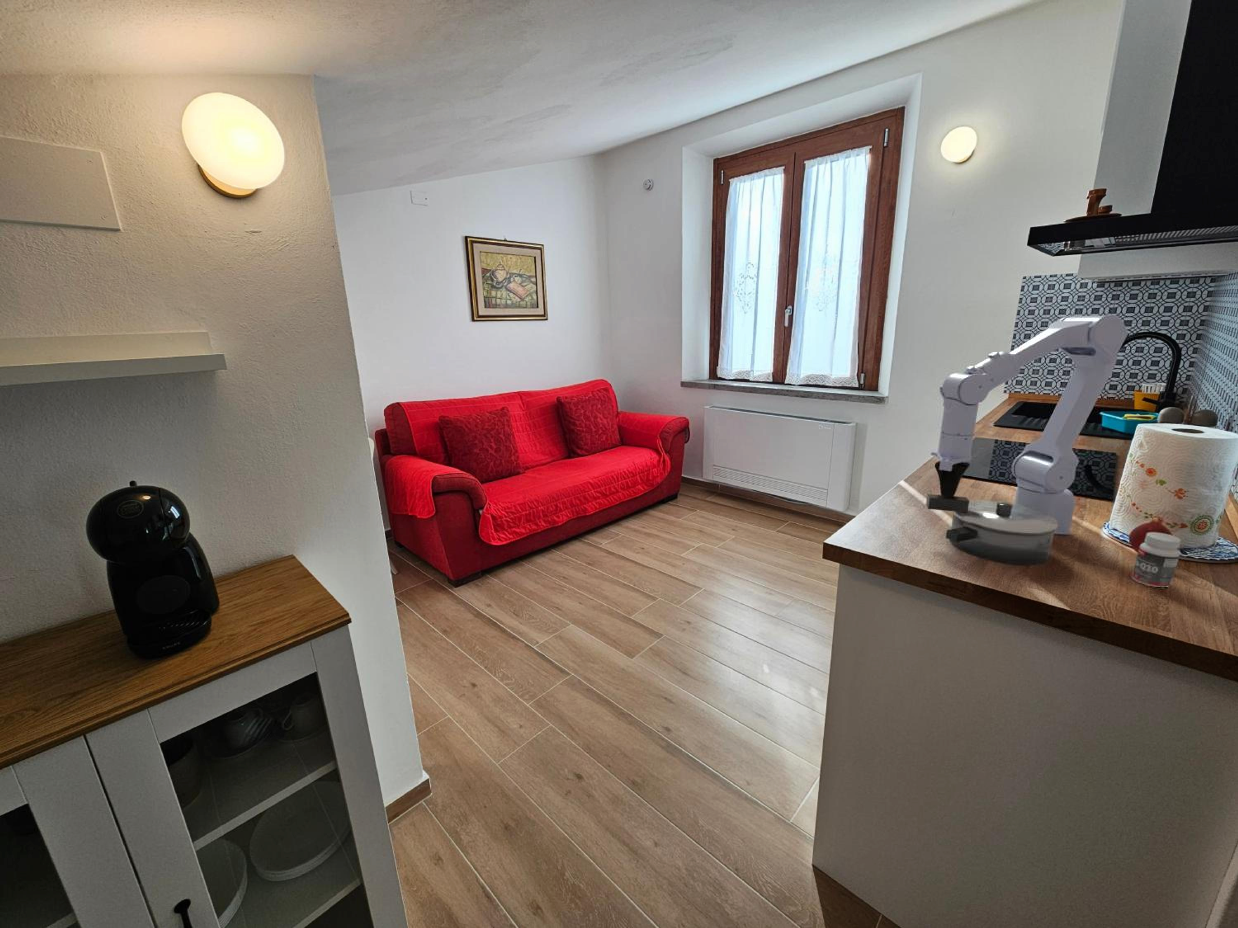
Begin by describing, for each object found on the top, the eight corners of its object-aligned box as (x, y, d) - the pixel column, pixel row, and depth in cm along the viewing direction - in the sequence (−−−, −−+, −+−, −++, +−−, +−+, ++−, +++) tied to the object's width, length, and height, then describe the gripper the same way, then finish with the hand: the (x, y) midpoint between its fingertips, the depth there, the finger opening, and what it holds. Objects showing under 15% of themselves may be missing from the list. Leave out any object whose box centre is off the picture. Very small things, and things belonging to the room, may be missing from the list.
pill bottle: (1123, 576, 91) (1134, 531, 88) (1148, 574, 91) (1160, 530, 89) (1152, 589, 86) (1165, 543, 84) (1178, 588, 86) (1192, 541, 84)
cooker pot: (986, 526, 113) (991, 500, 111) (1069, 556, 98) (1075, 526, 97) (912, 541, 106) (916, 514, 105) (989, 575, 92) (995, 544, 90)
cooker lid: (1038, 508, 106) (1041, 493, 105) (1073, 539, 91) (1077, 522, 90) (919, 498, 114) (921, 484, 113) (934, 525, 99) (936, 509, 98)
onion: (1177, 566, 94) (1189, 525, 91) (1139, 564, 95) (1150, 523, 93) (1152, 553, 99) (1163, 513, 97) (1117, 551, 100) (1126, 512, 98)
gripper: (942, 425, 114) (933, 484, 118) (926, 436, 104) (917, 501, 107) (980, 428, 109) (970, 490, 113) (968, 441, 99) (957, 508, 103)
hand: (947, 496), depth 110 cm, fingers closed
